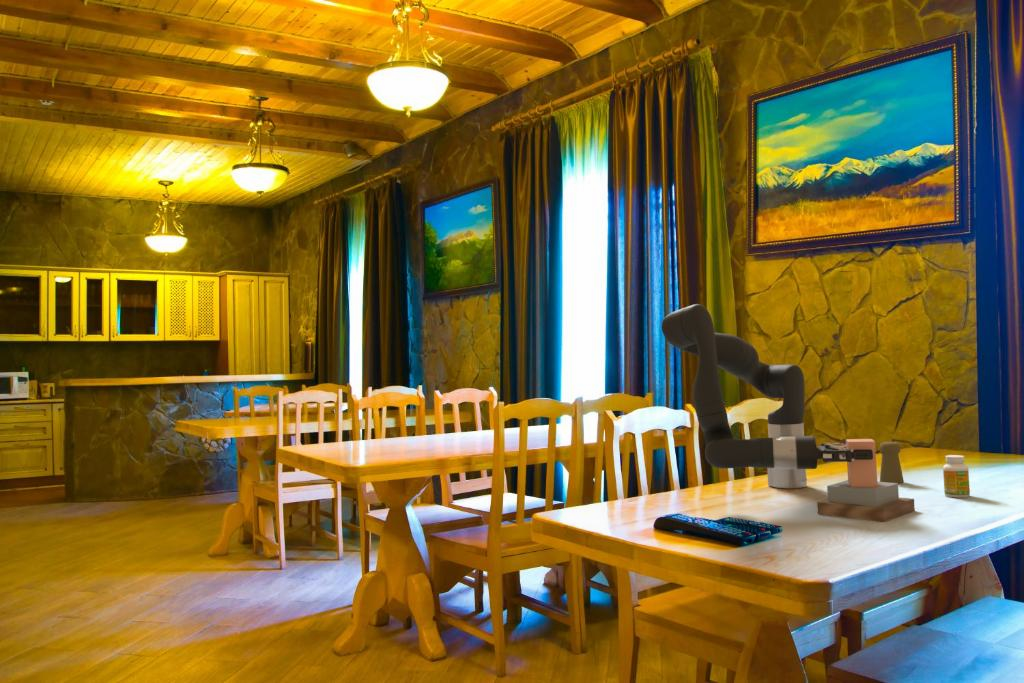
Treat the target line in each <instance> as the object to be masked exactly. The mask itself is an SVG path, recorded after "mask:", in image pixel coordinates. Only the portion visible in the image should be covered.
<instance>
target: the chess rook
mask: <svg viewBox="0 0 1024 683" xmlns="http://www.w3.org/2000/svg"><path fill="white" fill-rule="evenodd" d="M879 453H880V454H881V460H880V462H881V463H880V472H879V473H880V475H879V482H888V483H898V485H903V484H904V483H905V480H904V476H903V470H902V467H901V461H900V457H899V456H900V455H899V454H900V453H901V445H900V444H899V443H898V442H894V441H883V442H881V443H880V444H879Z"/></svg>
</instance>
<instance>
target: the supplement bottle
mask: <svg viewBox="0 0 1024 683" xmlns="http://www.w3.org/2000/svg"><path fill="white" fill-rule="evenodd" d="M945 462H946V464H944V465H943V468H942V470H943V475H942V476H943V491H944V495H945V497H947V498H957V499H964V498H969V497H970V496H971V490H970V478H969V477H970V473H969V467H968V466H967V465H966V464H965V455H959V454H958V455H956V454H954V455H953V454H948V455H945Z"/></svg>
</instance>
